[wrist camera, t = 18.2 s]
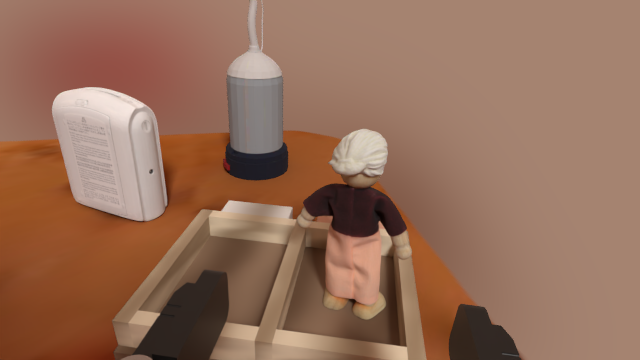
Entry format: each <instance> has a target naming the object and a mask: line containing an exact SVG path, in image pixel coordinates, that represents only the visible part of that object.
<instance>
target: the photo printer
mask: <svg viewBox="0 0 640 360" xmlns="http://www.w3.org/2000/svg"><path fill="white" fill-rule="evenodd" d="M52 115H53V119H54V123H55V127H56V131H57V134H58V139H59V142H60V146H61V150H62V154H63V158H64V162H65V166H66V170H67V173H68V178H69V182H70V185H71V190H72V193H73V196H74V199H75V200H76V201H77V202H79V203H81V204H83V205H86V206H89V207H92V208H95V209H98V210H101V211H104V212H108V213H111V214H114V215H118V216H120V217H124V218H128V219H131V220H136V221H150V220H153V219H155V218H157V217H159V216H161V215H162V214H163V213H164V211H165V207H166V206H167V193H166V185H165V178H164V170H163V163H162V155H161V148H160V141H159V134H158V126H157V120H156V117H155V115H154V113H153V111H152V110H151V109H150V108H149V107H147V106H146V105H145V104H143V103H142V102H140V101H138V100H136V99H134V98H132V97H130V96H128V95H125V94H123V93H119V92H116V91H113V90H109V89H105V88H95V87H87V88H80V89H74V90H69V91H65V92H62V93H60V94H59V95H58V96H57V97H56V98H55V100H54V102H53V106H52Z"/></svg>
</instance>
